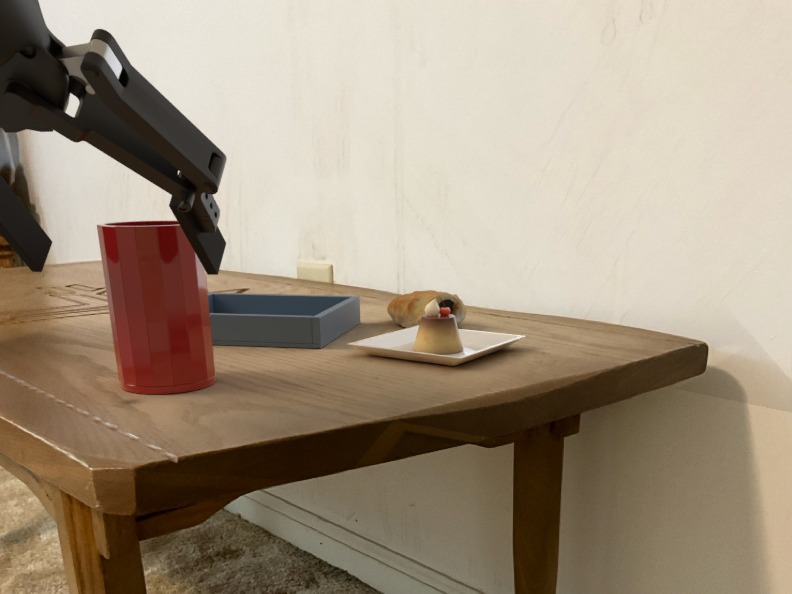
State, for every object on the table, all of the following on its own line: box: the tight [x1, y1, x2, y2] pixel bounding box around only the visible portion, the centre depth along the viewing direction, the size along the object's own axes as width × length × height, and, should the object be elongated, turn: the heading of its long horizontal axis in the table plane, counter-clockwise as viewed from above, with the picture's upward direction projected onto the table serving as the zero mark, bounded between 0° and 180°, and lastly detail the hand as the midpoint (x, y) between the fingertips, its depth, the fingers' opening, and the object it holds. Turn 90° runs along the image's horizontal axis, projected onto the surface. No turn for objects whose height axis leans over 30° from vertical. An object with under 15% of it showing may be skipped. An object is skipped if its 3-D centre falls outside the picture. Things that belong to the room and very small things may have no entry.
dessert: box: [347, 299, 526, 367], centre depth 77 cm, size 12×12×5 cm
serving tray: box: [208, 292, 361, 349], centre depth 88 cm, size 18×15×3 cm
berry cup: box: [96, 219, 217, 395], centre depth 65 cm, size 7×7×12 cm
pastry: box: [386, 289, 467, 329], centre depth 92 cm, size 9×7×4 cm
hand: (128, 258), depth 60 cm, fingers open, 13 cm apart
